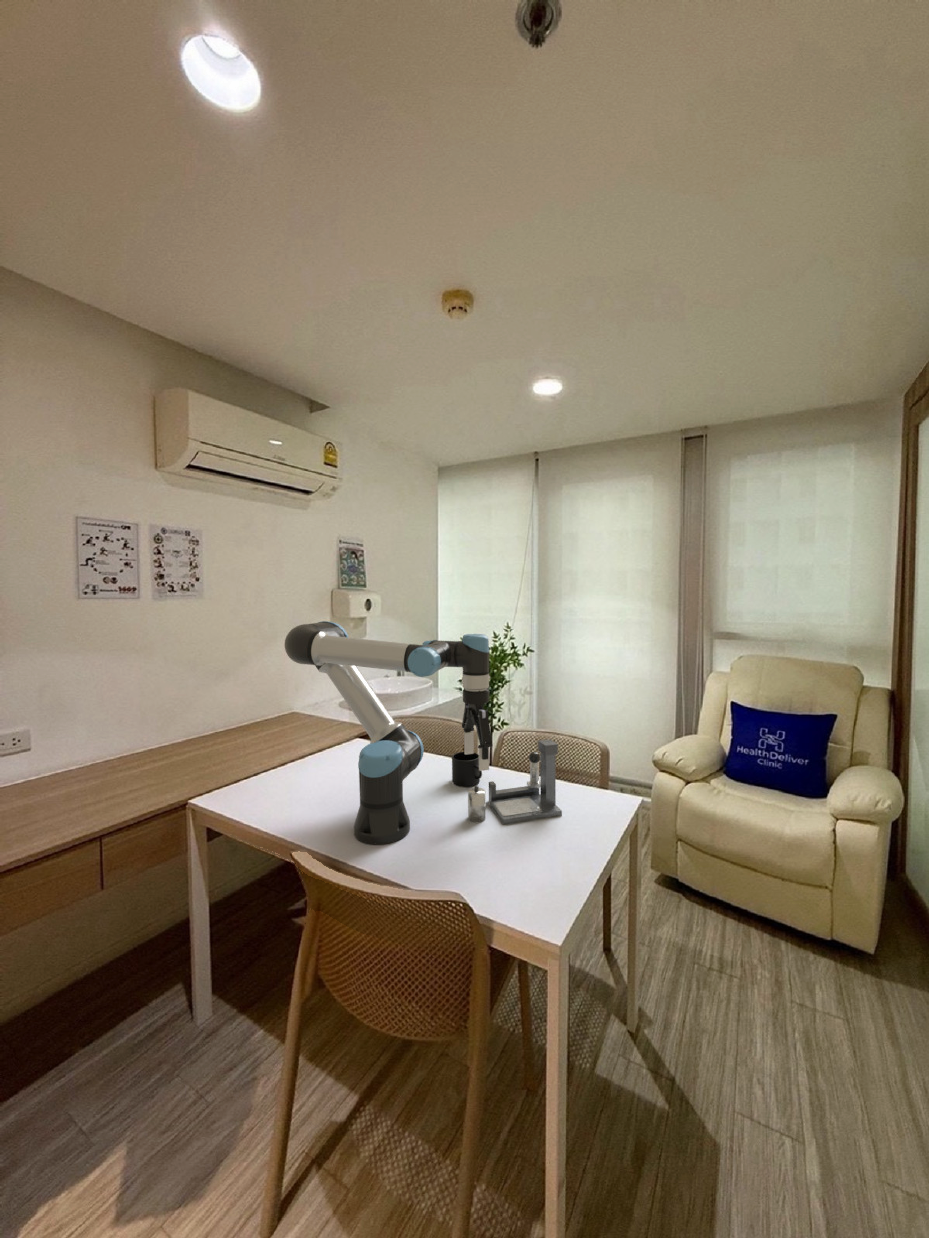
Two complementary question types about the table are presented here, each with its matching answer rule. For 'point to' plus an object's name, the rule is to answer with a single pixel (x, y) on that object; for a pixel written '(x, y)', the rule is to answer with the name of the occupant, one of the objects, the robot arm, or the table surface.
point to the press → (529, 793)
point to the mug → (465, 769)
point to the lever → (534, 770)
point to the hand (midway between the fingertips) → (476, 761)
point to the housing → (476, 804)
